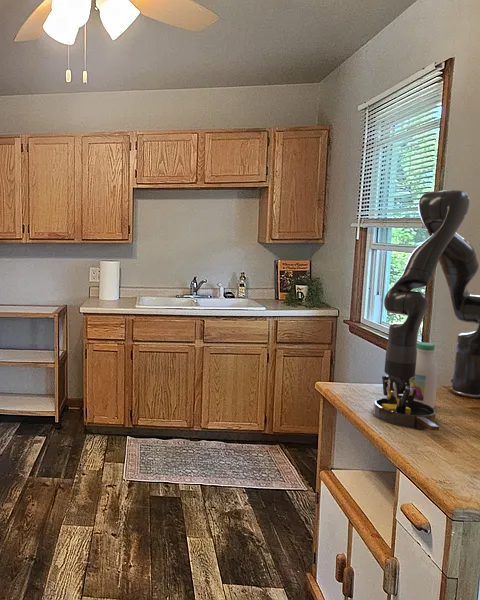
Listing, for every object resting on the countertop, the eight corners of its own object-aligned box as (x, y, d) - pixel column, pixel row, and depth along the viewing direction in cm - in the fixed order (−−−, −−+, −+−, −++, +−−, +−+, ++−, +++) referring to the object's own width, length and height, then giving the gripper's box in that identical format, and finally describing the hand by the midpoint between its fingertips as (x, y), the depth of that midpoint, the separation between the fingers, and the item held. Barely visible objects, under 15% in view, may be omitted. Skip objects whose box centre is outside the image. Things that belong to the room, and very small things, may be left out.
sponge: (402, 413, 148) (403, 403, 148) (409, 418, 144) (410, 408, 144) (381, 413, 149) (382, 403, 148) (388, 418, 145) (389, 408, 144)
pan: (415, 408, 153) (416, 398, 153) (447, 428, 138) (448, 416, 138) (364, 407, 154) (365, 396, 154) (390, 427, 139) (391, 415, 139)
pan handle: (414, 427, 139) (416, 416, 138) (422, 428, 139) (423, 416, 138) (430, 438, 132) (431, 426, 132) (438, 438, 132) (439, 426, 131)
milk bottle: (425, 401, 159) (431, 341, 156) (440, 410, 152) (446, 346, 149) (399, 401, 160) (405, 340, 157) (413, 409, 152) (419, 346, 149)
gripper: (429, 365, 137) (423, 425, 139) (400, 352, 151) (395, 406, 153) (400, 365, 137) (395, 424, 140) (374, 352, 151) (370, 406, 154)
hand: (395, 415), depth 146 cm, fingers closed on sponge, 4 cm apart
